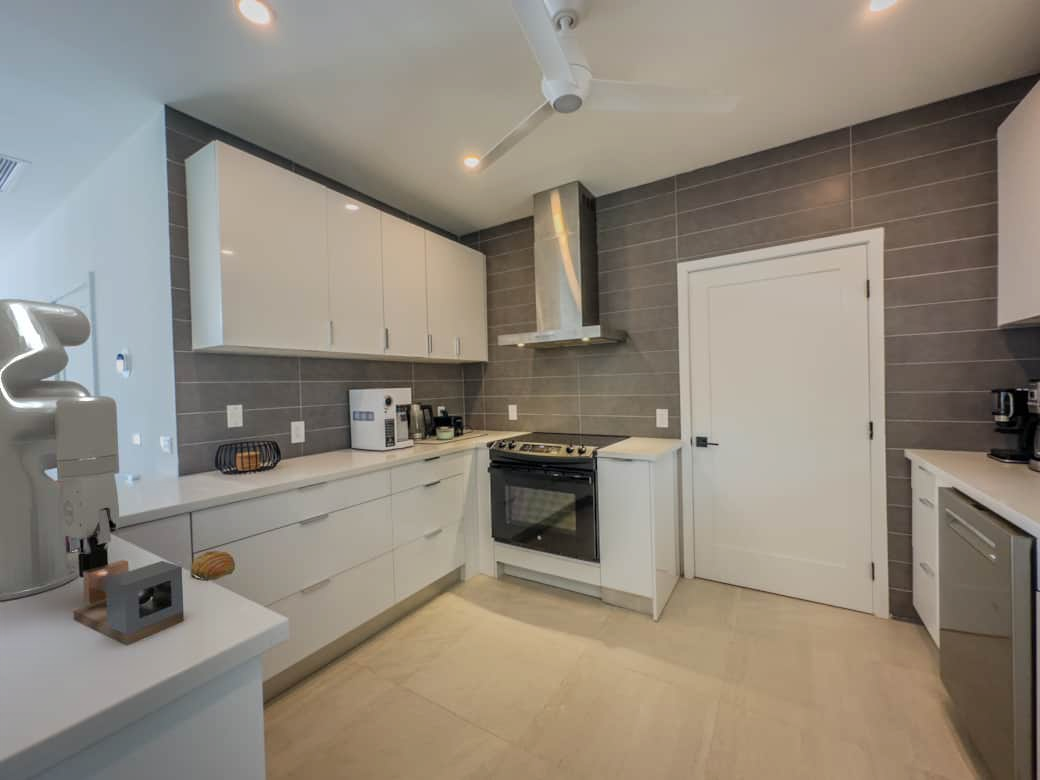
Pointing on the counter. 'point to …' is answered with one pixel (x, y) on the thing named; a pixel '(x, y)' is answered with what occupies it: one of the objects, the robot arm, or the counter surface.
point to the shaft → (97, 582)
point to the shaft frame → (137, 603)
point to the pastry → (213, 565)
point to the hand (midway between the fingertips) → (94, 574)
